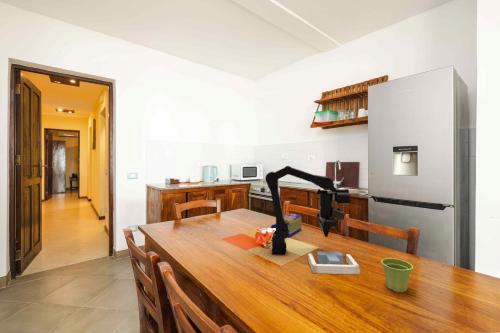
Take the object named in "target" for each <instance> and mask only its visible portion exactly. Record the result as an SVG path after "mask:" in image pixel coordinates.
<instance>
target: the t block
mask: <svg viewBox="0 0 500 333" xmlns="http://www.w3.org/2000/svg"><path fill="white" fill-rule="evenodd" d="M316 252H317V254H316V255H317V257H316V258H317V259H316V260H317V263H318V264H332V265H344V255H343V253H342V252H341V251H323V250H322V251H318V250H317V251H316Z"/></svg>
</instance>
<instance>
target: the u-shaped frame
mask: <svg viewBox="0 0 500 333" xmlns="http://www.w3.org/2000/svg"><path fill="white" fill-rule="evenodd" d="M307 258H308V259H307V261H308V263H309V266H310V268H311V271H312V273H313V274H330V275H333V274H335V275H336V274H337V275H361V266H360V265H359V264H358V263H357V262H356V260H355V259H354V258H353V257H352V255H351V254H345V261H346V263H347V264H343V265H332V264H319V263H316V260H315V258H314V255H313V253H308V254H307Z"/></svg>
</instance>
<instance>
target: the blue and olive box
mask: <svg viewBox="0 0 500 333" xmlns="http://www.w3.org/2000/svg"><path fill="white" fill-rule="evenodd" d="M283 216H284V219H285V221H286V220H288V225H289V227H290V231H289V232H288V236H287V238H290V237H291V236H293V235H295V234H296V233H298V232H299V231H301V230H302V228H303V227H302V225H303V224H302V215H301V214H295V213H287V214H285V215H283ZM271 228H276V223H275V224H271V225H270V229H271ZM294 233H295V234H294Z"/></svg>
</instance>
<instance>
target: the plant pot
mask: <svg viewBox="0 0 500 333" xmlns="http://www.w3.org/2000/svg"><path fill="white" fill-rule="evenodd" d="M381 265H382V267H383V272H384V277H385V284H386V288H388V289H389V290H392V291H394V292H396V293H404V292H405V293H406V292H407V291H408V285H409V279H410V274H411V272H412V270H413V269H414V266H413V265H412V264H411V263H410V262H408V261H406V260H403V259H400V258H394V257H393V258H392V257H388V258H383V259H381Z"/></svg>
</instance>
